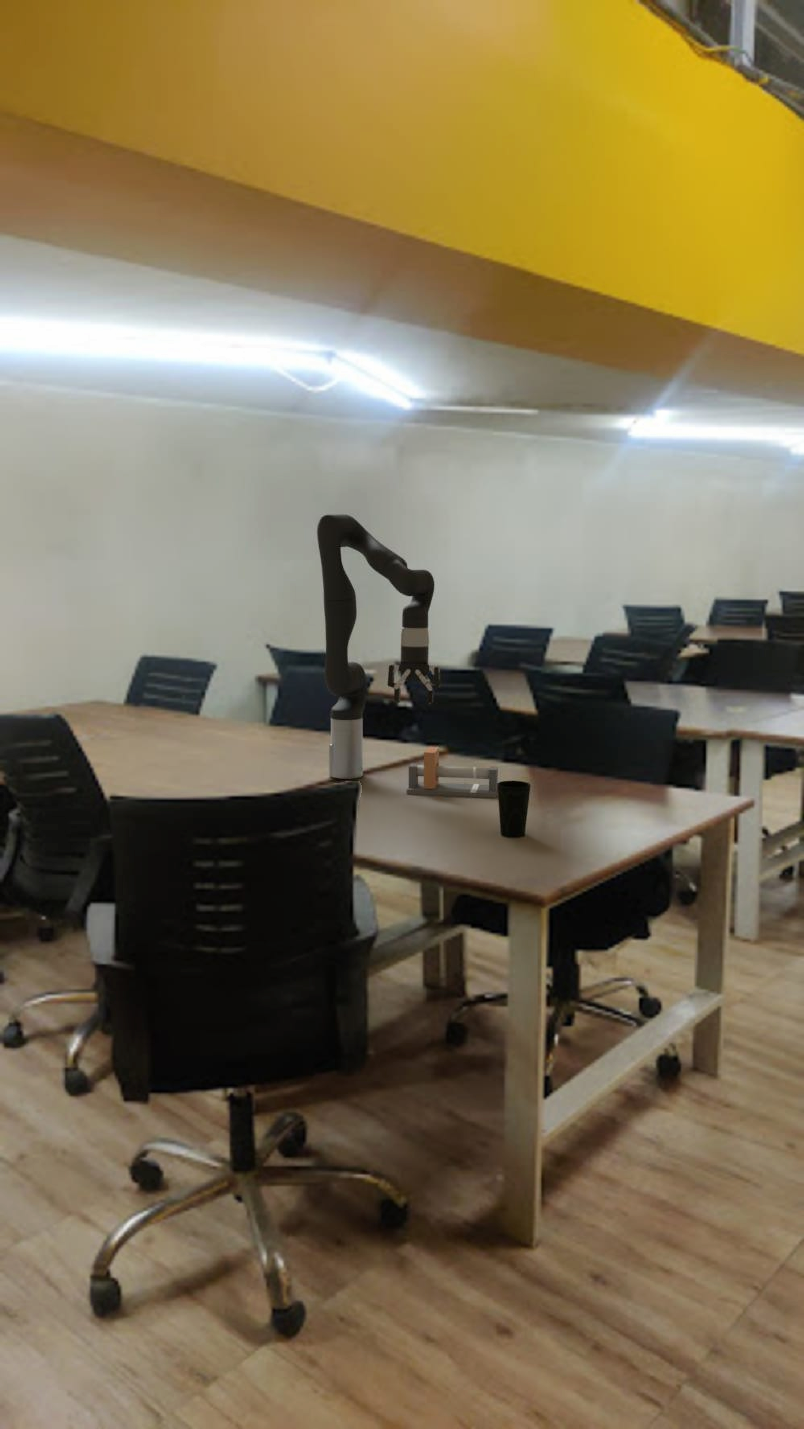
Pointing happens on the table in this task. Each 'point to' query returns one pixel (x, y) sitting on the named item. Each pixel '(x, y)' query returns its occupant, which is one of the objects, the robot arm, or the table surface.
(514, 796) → the cup
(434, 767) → the collar
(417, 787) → the pipe rail
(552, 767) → the table surface
